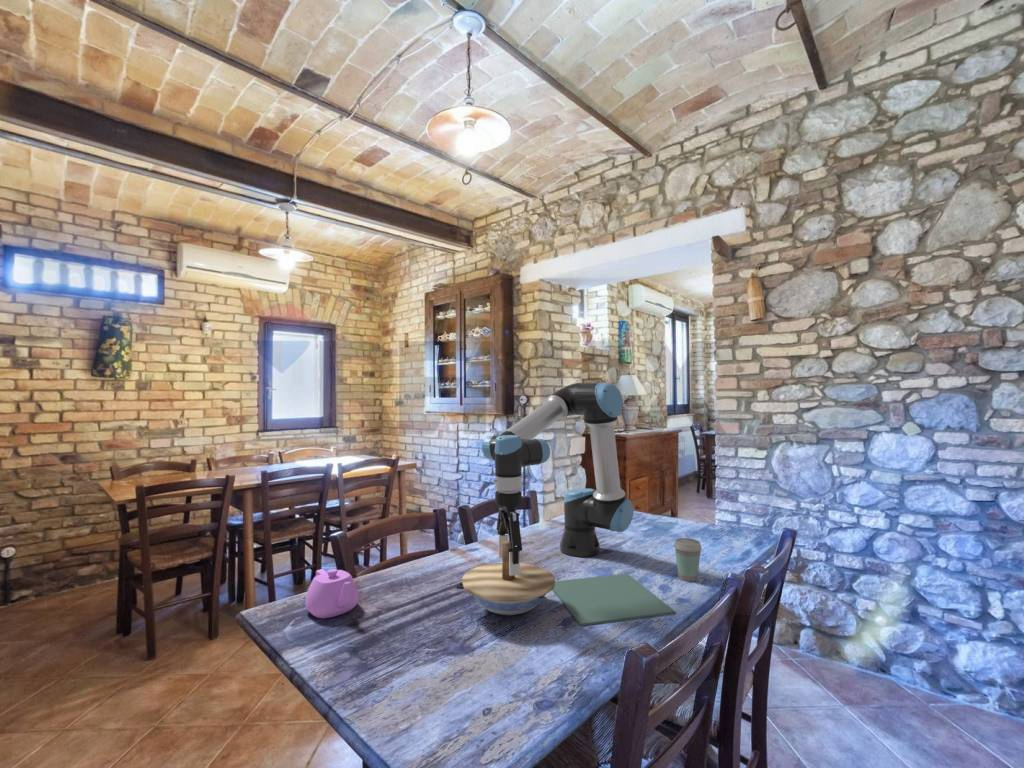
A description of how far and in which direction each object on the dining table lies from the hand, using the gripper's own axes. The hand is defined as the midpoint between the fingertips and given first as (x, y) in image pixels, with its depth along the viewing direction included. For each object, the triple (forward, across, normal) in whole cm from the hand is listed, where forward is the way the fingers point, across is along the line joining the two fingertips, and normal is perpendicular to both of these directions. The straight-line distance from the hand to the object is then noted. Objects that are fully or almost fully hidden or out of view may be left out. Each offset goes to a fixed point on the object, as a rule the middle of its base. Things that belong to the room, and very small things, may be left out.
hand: (508, 565), depth 138 cm
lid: (+4, +1, 0) cm, 4 cm away
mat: (+12, 0, +30) cm, 32 cm away
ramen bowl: (+12, 0, 0) cm, 13 cm away
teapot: (+12, -12, -48) cm, 51 cm away
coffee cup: (+12, -7, +62) cm, 64 cm away
